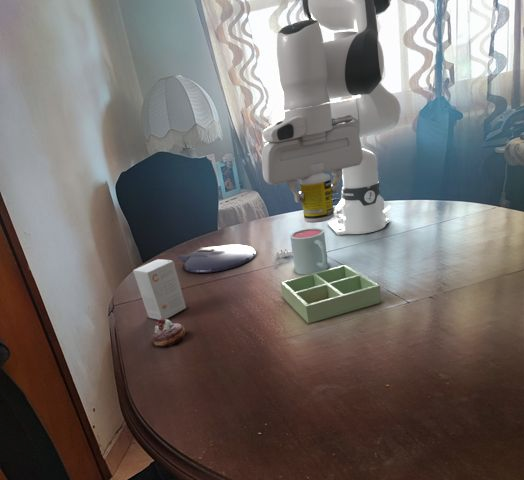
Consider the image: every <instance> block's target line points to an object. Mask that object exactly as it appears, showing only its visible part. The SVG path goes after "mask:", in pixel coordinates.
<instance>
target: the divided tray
mask: <svg viewBox="0 0 524 480" xmlns="http://www.w3.org/2000/svg"><path fill="white" fill-rule="evenodd" d="M280 287H281V294H282V298H283V299H284V300H285V301H286V302H287V303H288V304H289V305H290V307H292V309H294V310H295V311H296V313H298V314H299V316H300V317H301V318H302V319H303V320H304V321H305V322H307V324H313V323H315V322H318V321H322V320H326V319H329V318H332V317H333V318H334V317H337V316H339V315H342V314H345V313H350V312H353V311H356V310H360V309H363V308H367V307H371V306H373V305H374V306H375V305H377V304H380V303H382V300H381V299H382V298H381V297H382V295H381V285H380V284H378V283H377V282H375V281H373V280H371V279H370V278H369V277H367V276H365V275H363V274H361V273H360V272H358V271H357V270H356V269H354V268H352V267H350V266H349V265H347V264H343V265H342V264H341V265H339V266H336V267H332V268H327V269H326V270H324V271H320V272H317V273H313V274H304V275H302V276H298V277H295V278H291V279H287V280H283V281H280Z"/></svg>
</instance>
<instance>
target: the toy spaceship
mask: <svg viewBox="0 0 524 480" xmlns="http://www.w3.org/2000/svg"><path fill="white" fill-rule="evenodd" d="M256 255H257V251H256V249H255V248H253V247H252V246H249V245H245V244H224V245H219V246H218V245H217V246H208V247H204V246H203V247H198V249H197V250H195V251H193V252H191V253H189V254H185V255H184V254H183V255H178V256H177V259H178V260H181V261H184V264H183V269H184V270H185V271H187V272H188V273H189V272H190V273H197V274H208V273H215V272H221V271H226V270H229V269H233V268H237V267H240V266H242V265H244V264H246V263H248V262H250V261H251V260H253V259H254V257H255V256H256Z"/></svg>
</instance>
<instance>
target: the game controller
mask: <svg viewBox="0 0 524 480" xmlns="http://www.w3.org/2000/svg"><path fill="white" fill-rule="evenodd" d="M284 257H286V258H287V257H293V253H292V250H289V249H287V248H284V251H283V249H280V251H276V252H275V258H279V260H281V259H282V258H284ZM280 262H281V261H279V262H278V263H276V265H275V266H277V265H278V264H280Z"/></svg>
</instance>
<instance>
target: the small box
mask: <svg viewBox="0 0 524 480" xmlns="http://www.w3.org/2000/svg"><path fill="white" fill-rule="evenodd" d="M132 271H133V275H134V278H135V280H136V281H135V282H136V284H137V287H138V290H139V292H140V296H141V299H142V302H143V304H144V305H143V306H144V308H145V310H146V313H147V317H148V318H150V319H154V320H157V321H159V320H160V319H161V318H162V317H164V318H165V319H166V320H168V319H169V318H171V317H172V316H174V315H176V314H178V313H180V312H182V311H183V310H185V309H187V306H186V301H185V299H184V295H183V292H182V288H181V284H180V280H179V277H178V273H177V270H176V266H175V263H174V260H171V259H162V258H161V259H160V258H157V259H155V260H153V261H151V262H148V263H146V264H143V265H142V266H139V267H137V268H135V269H133V270H132Z"/></svg>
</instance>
